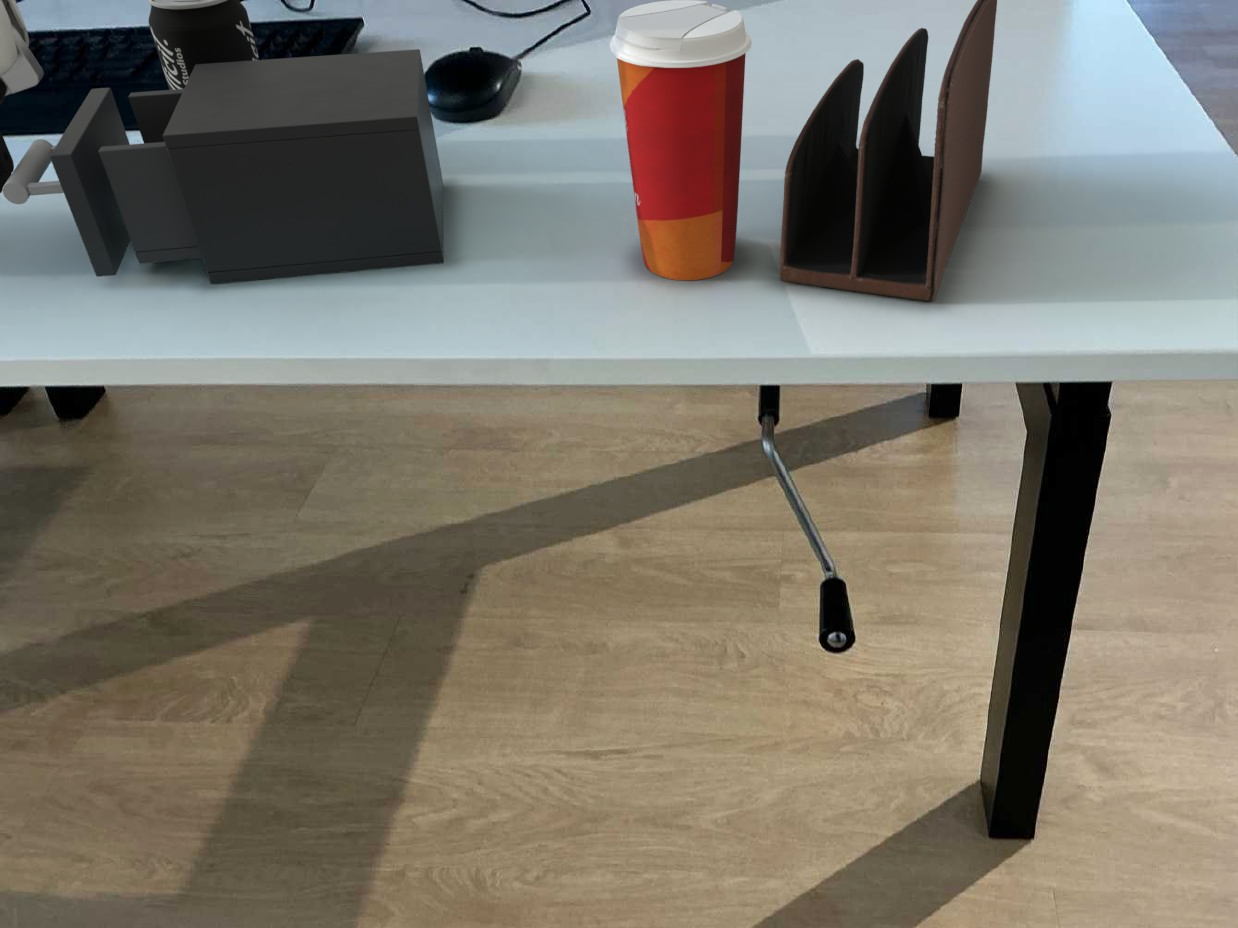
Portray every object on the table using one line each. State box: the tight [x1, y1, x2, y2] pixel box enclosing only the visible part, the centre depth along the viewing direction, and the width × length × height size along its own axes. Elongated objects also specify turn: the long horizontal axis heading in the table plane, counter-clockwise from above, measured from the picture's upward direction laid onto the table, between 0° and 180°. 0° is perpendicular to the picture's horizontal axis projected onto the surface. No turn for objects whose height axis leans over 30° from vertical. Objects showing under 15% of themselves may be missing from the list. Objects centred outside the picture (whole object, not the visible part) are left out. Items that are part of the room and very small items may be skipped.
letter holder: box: [778, 0, 998, 302], centre depth 77 cm, size 10×20×14 cm, turn 163°
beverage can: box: [148, 0, 260, 90], centre depth 87 cm, size 7×7×12 cm
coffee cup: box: [609, 0, 753, 281], centre depth 73 cm, size 8×8×15 cm
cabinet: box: [163, 48, 445, 285], centre depth 79 cm, size 15×13×10 cm
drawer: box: [1, 87, 202, 278], centre depth 78 cm, size 18×11×8 cm, turn 101°
